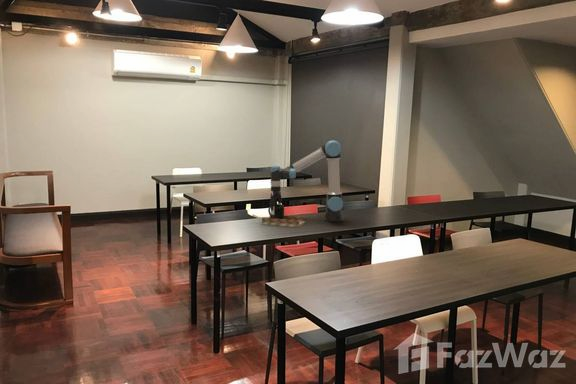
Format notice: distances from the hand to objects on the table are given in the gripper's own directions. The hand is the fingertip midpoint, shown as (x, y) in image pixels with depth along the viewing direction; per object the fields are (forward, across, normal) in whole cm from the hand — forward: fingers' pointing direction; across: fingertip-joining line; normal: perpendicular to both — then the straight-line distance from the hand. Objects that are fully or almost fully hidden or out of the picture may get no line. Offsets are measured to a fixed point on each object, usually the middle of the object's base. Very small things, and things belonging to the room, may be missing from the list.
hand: (276, 212), depth 365 cm
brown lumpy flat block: (+8, 0, +7) cm, 10 cm away
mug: (+6, 0, 0) cm, 6 cm away
